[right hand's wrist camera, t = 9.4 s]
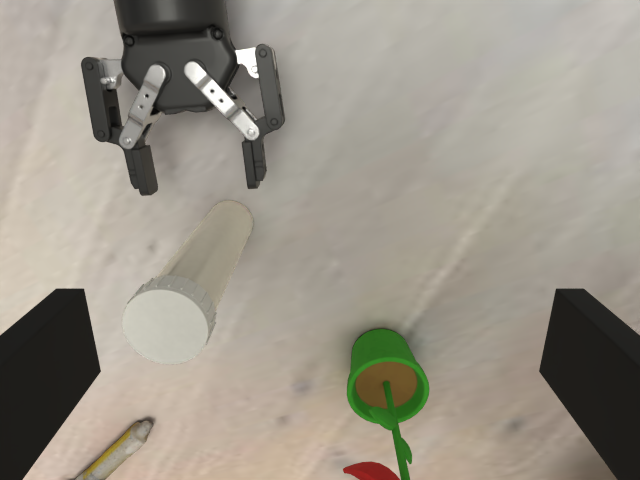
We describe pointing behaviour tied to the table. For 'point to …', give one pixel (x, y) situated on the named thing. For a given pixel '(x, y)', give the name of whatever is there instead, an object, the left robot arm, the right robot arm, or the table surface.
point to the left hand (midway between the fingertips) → (202, 190)
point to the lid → (169, 320)
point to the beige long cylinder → (213, 249)
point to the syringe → (118, 452)
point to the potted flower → (385, 394)
